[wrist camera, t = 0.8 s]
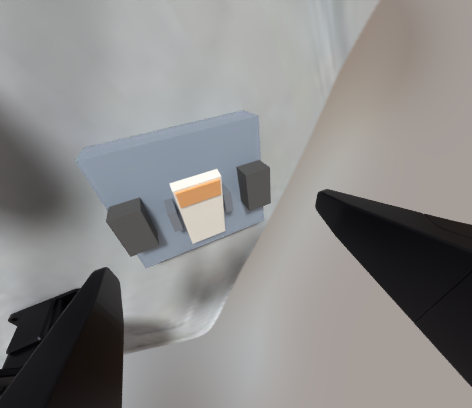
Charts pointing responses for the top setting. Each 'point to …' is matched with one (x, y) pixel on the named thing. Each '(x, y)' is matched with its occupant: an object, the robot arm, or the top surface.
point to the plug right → (254, 184)
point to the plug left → (133, 226)
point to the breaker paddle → (201, 204)
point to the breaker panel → (176, 174)
